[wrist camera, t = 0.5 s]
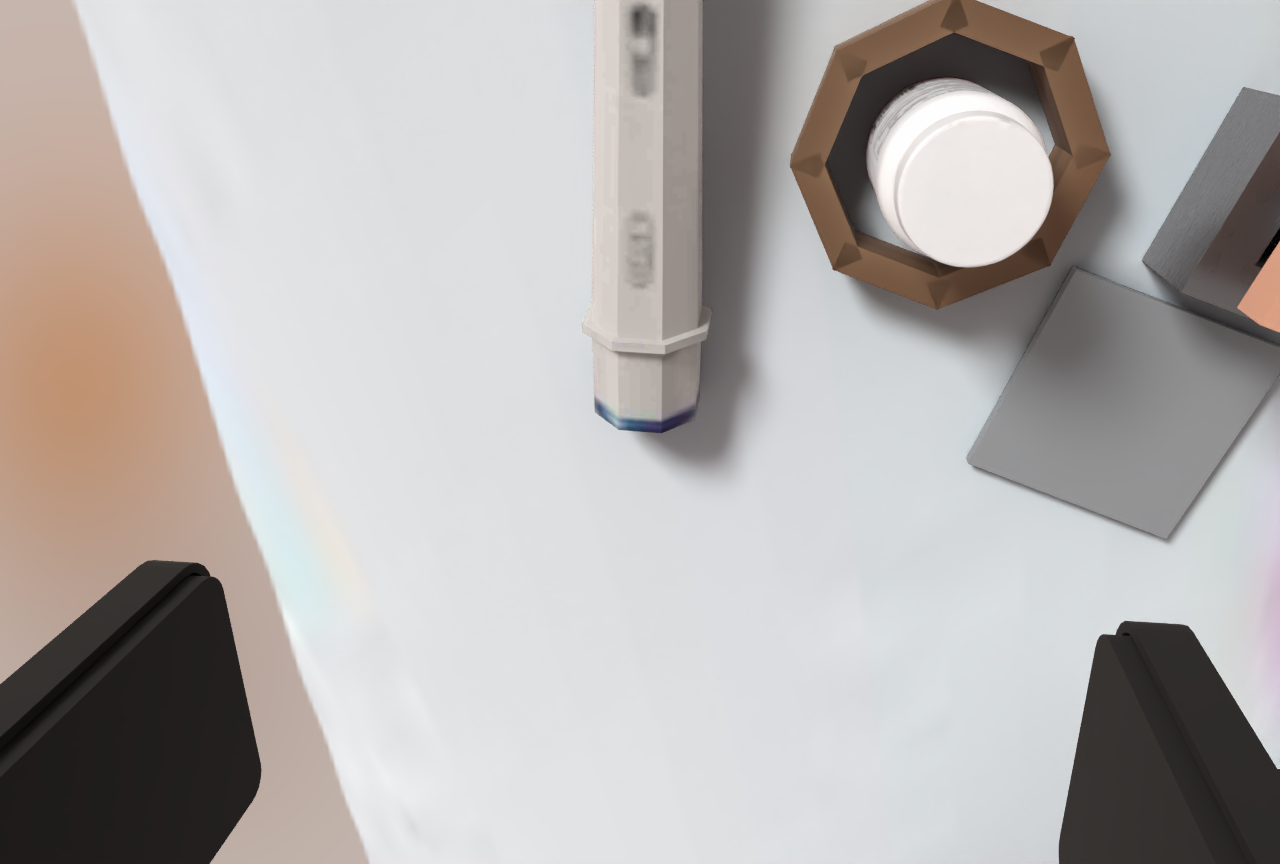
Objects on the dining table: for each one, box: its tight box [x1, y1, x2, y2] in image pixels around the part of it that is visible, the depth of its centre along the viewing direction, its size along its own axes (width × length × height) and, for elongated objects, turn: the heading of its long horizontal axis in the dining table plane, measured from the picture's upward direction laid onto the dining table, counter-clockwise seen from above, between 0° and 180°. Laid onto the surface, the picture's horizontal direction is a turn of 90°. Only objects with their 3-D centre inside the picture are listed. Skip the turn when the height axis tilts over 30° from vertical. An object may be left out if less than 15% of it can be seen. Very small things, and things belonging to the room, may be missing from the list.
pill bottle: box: [866, 77, 1054, 268], centre depth 30 cm, size 5×5×8 cm
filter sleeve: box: [790, 0, 1110, 310], centre depth 33 cm, size 9×9×2 cm
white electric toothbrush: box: [582, 0, 712, 433], centre depth 32 cm, size 5×7×25 cm
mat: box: [966, 267, 1280, 539], centre depth 36 cm, size 8×8×1 cm
